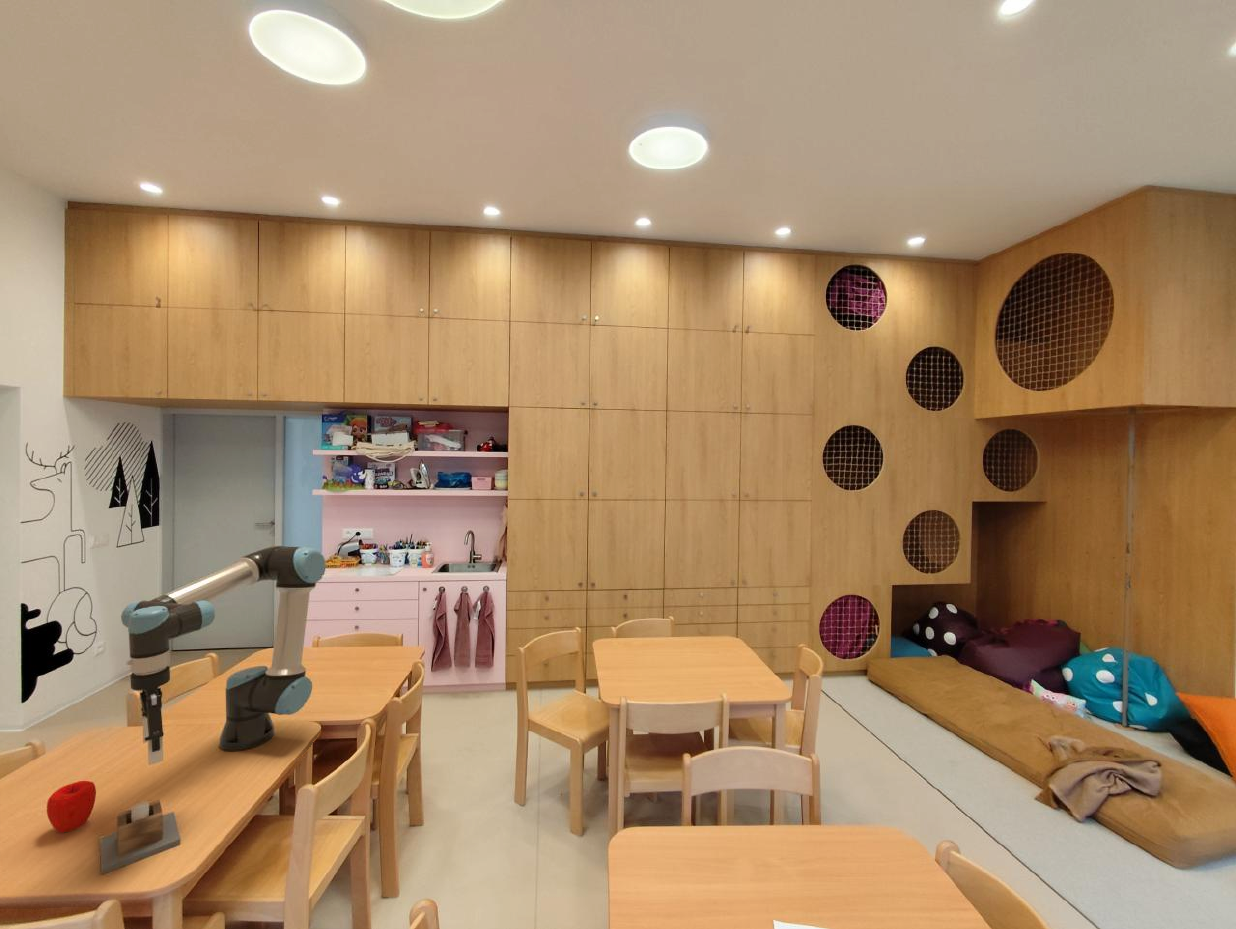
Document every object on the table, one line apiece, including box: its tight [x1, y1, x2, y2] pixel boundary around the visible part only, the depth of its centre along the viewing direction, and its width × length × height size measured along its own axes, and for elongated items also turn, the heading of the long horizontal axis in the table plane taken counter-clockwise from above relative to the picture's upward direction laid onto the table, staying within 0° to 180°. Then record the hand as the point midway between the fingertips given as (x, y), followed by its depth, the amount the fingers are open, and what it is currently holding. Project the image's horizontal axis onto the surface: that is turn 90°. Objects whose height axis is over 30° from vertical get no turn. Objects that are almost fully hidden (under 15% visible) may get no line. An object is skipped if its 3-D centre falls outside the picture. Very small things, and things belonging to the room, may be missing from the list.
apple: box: [46, 780, 97, 834], centre depth 136 cm, size 9×9×11 cm
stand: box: [99, 801, 181, 876], centre depth 131 cm, size 14×14×9 cm
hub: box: [116, 799, 164, 856], centre depth 131 cm, size 8×8×6 cm
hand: (152, 751), depth 136 cm, fingers open, 13 cm apart
